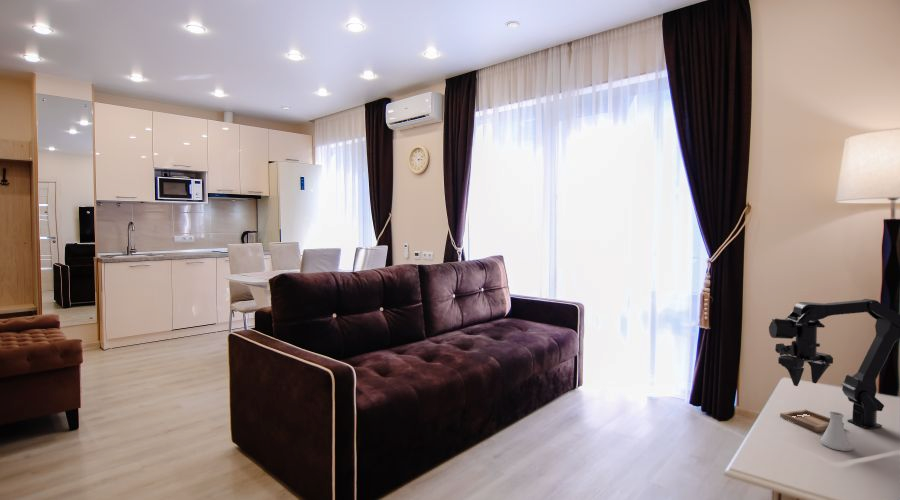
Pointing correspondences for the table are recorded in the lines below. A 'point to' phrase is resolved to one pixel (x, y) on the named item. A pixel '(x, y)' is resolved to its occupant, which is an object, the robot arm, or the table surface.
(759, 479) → the table surface
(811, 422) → the tray
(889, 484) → the table surface
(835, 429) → the flask
